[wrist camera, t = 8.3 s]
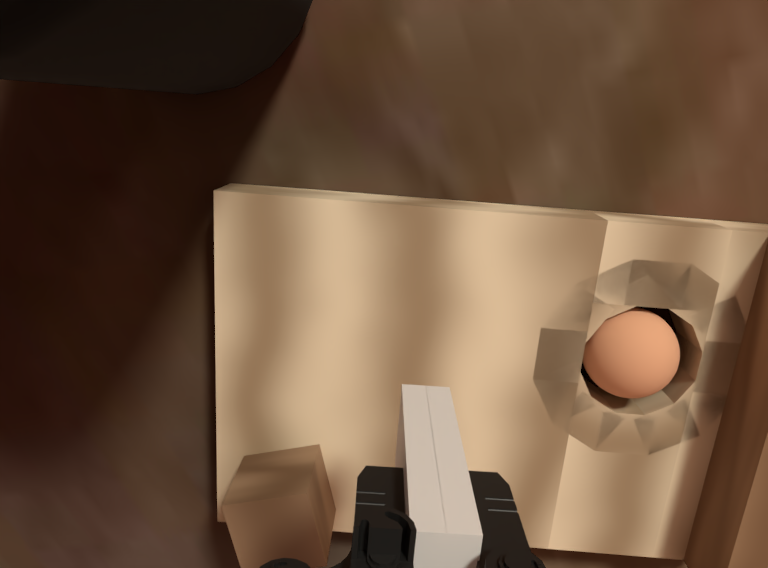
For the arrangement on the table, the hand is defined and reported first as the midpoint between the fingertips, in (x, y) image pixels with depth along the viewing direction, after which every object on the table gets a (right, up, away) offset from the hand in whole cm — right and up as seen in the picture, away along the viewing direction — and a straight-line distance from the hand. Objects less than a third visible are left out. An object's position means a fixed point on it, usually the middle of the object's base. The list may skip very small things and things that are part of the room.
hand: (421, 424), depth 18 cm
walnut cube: (-6, -5, +9) cm, 12 cm away
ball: (+10, +1, +7) cm, 12 cm away
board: (+4, 0, +10) cm, 11 cm away
